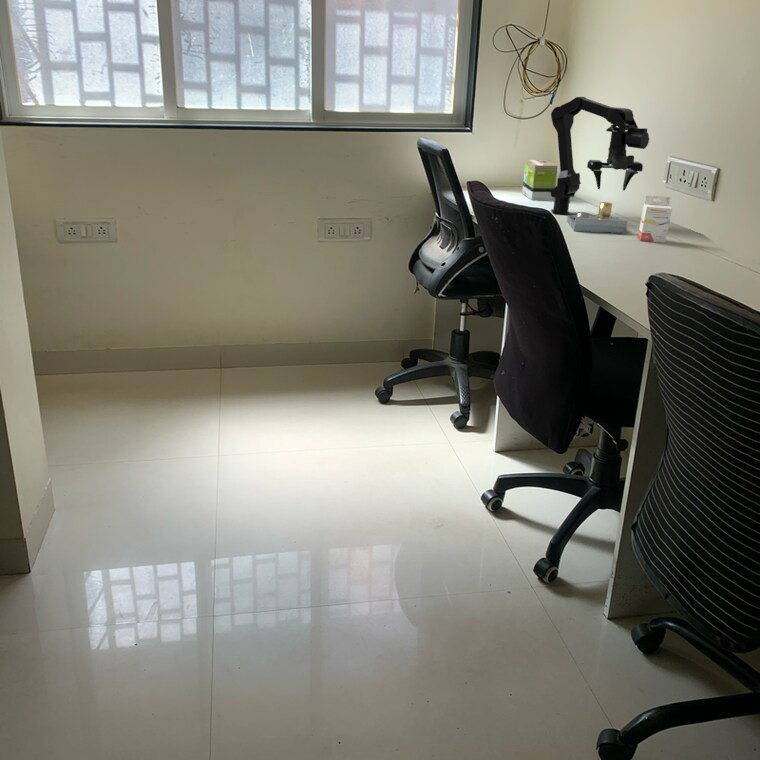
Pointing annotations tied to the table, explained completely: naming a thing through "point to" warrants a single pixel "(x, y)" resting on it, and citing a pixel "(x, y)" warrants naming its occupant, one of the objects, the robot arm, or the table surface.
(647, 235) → the ink cartridge box
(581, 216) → the steel bushing
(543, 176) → the tea box
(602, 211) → the cylinder
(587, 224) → the jig plate
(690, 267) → the table surface
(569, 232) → the table surface
